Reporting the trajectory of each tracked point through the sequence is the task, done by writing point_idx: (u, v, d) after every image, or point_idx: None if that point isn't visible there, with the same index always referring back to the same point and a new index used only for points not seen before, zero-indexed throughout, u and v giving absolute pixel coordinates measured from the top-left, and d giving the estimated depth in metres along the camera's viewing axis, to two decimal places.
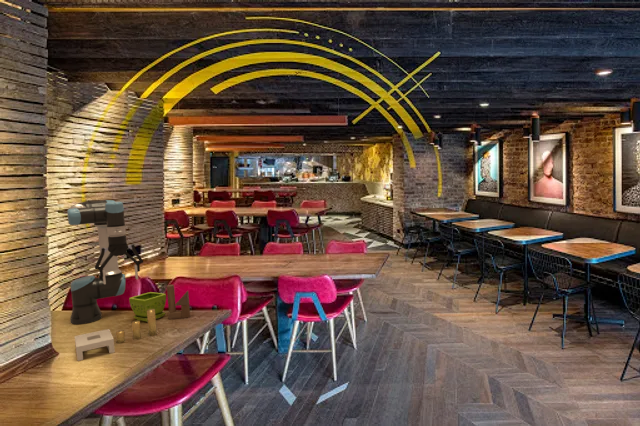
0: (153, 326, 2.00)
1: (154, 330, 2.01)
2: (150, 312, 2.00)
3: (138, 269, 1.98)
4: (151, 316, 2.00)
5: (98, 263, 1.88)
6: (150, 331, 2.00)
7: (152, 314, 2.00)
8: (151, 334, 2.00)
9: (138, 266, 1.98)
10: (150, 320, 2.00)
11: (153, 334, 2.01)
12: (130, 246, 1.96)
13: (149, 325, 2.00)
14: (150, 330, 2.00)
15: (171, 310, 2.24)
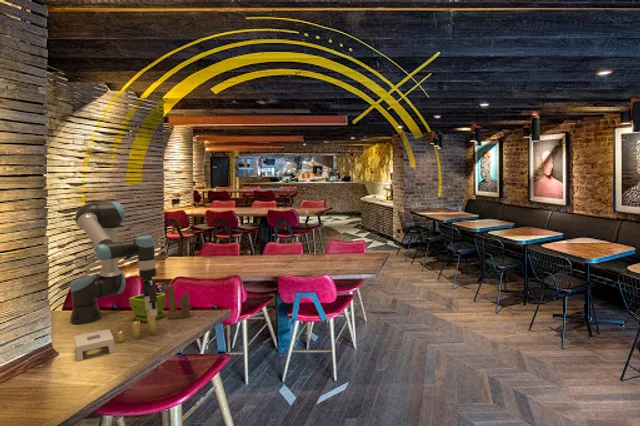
0: (153, 326, 2.00)
1: (154, 330, 2.01)
2: (150, 312, 2.00)
3: (152, 307, 1.94)
4: None
5: (143, 289, 2.07)
6: (150, 331, 2.00)
7: None
8: (151, 334, 2.00)
9: (152, 304, 1.94)
10: (150, 320, 2.00)
11: (153, 334, 2.01)
12: None
13: (149, 325, 2.00)
14: (150, 330, 2.00)
15: (171, 310, 2.24)
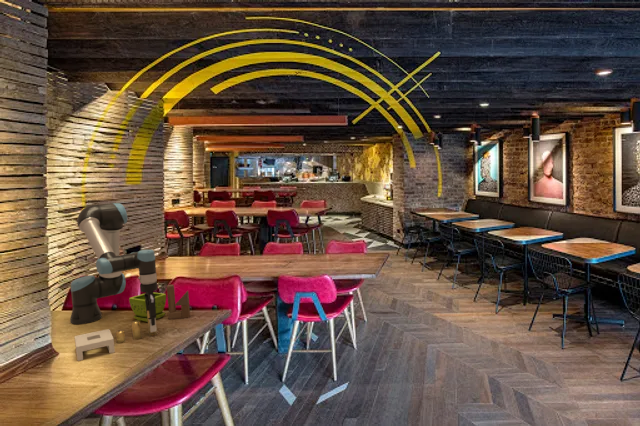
0: None
1: None
2: None
3: (151, 323, 1.99)
4: None
5: (146, 308, 2.05)
6: None
7: None
8: (151, 334, 2.00)
9: (151, 320, 1.98)
10: None
11: (153, 334, 2.00)
12: (150, 298, 1.96)
13: (149, 325, 2.00)
14: None
15: (171, 310, 2.24)
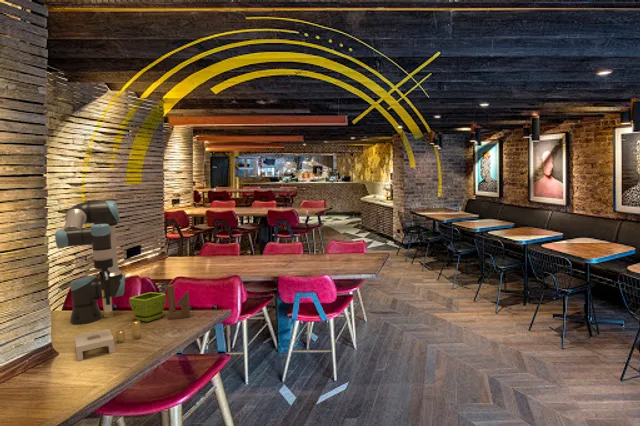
0: None
1: None
2: None
3: (106, 302, 1.85)
4: None
5: (101, 287, 1.91)
6: (105, 312, 1.87)
7: None
8: (106, 315, 1.87)
9: (106, 299, 1.85)
10: None
11: (108, 315, 1.87)
12: (105, 275, 1.83)
13: (104, 305, 1.87)
14: None
15: (171, 310, 2.24)
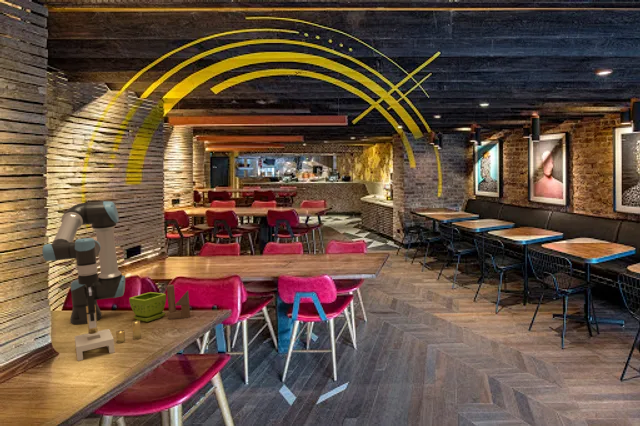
0: None
1: None
2: None
3: (90, 318, 1.81)
4: None
5: (86, 302, 1.87)
6: (89, 329, 1.83)
7: None
8: (91, 332, 1.83)
9: (90, 315, 1.81)
10: None
11: (93, 332, 1.83)
12: None
13: (88, 322, 1.83)
14: None
15: (171, 310, 2.24)
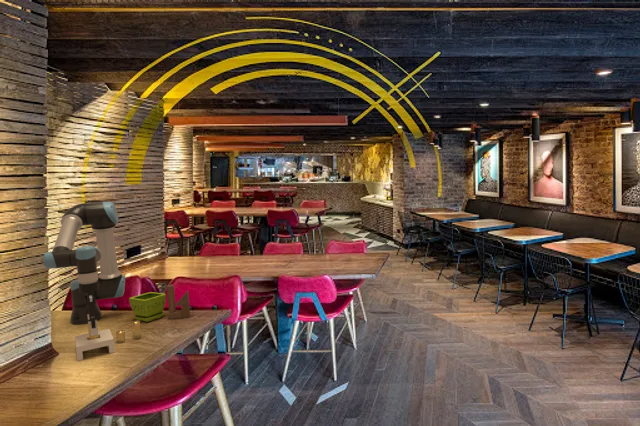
0: None
1: None
2: None
3: (91, 326, 1.78)
4: None
5: None
6: None
7: None
8: (92, 350, 1.84)
9: (91, 322, 1.78)
10: None
11: (95, 350, 1.84)
12: None
13: None
14: None
15: (171, 310, 2.24)
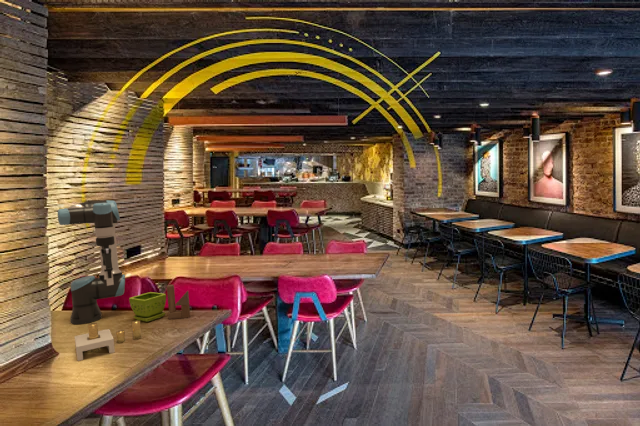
0: None
1: None
2: (91, 326, 1.83)
3: (107, 276, 1.87)
4: (92, 331, 1.83)
5: None
6: None
7: (93, 328, 1.83)
8: (92, 350, 1.84)
9: (107, 273, 1.87)
10: (91, 335, 1.83)
11: (95, 350, 1.84)
12: None
13: None
14: None
15: (171, 310, 2.24)
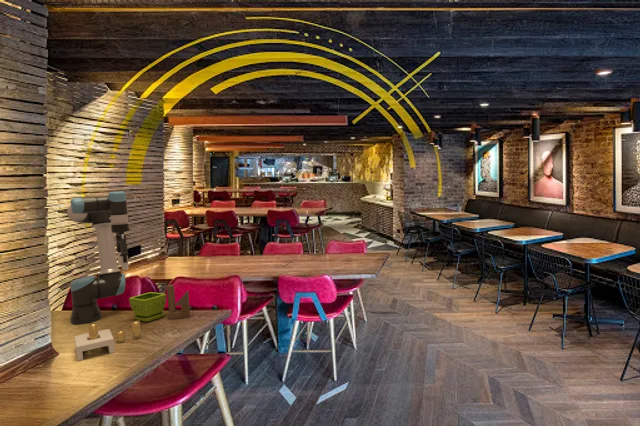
0: None
1: None
2: (91, 326, 1.83)
3: (123, 260, 1.96)
4: (92, 331, 1.83)
5: None
6: None
7: (93, 328, 1.83)
8: (92, 350, 1.84)
9: (123, 257, 1.96)
10: (91, 335, 1.83)
11: (95, 350, 1.84)
12: None
13: None
14: None
15: (171, 310, 2.24)
